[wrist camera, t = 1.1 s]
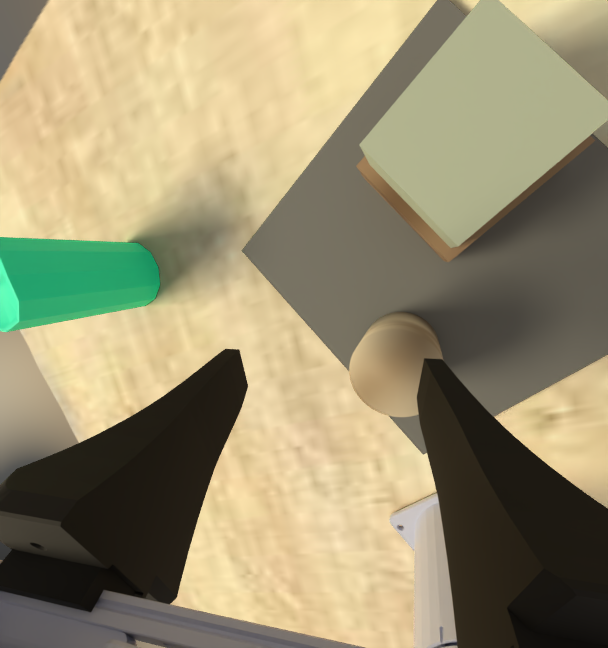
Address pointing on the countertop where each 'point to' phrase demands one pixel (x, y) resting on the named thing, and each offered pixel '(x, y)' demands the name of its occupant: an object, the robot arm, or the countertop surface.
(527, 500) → the robot arm
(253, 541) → the countertop surface
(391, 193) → the tower base
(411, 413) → the tan rounded cylinder
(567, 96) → the tower top
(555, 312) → the mat
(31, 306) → the candle
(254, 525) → the countertop surface
